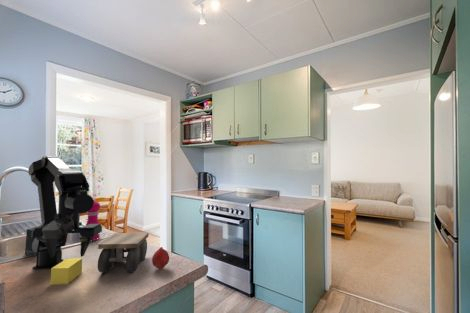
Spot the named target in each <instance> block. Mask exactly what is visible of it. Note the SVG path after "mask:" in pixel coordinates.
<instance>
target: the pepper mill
mask: <svg viewBox="0 0 470 313" xmlns="http://www.w3.org/2000/svg"><path fill="white" fill-rule="evenodd" d="M93 201H94V204H93V207H92V208H91V209H90V210H89V211H88V212H86V215H87V222H86V224H85V226H86V225H89V224H100V222H99V218H98V216H99V213H100V211H99V210H100V209H101V204H100V202H97V201H96V199H95V198H93ZM100 236H101V235H100V233H98V234H97V235H95V236H94V237H93V239H92V240H93V241H95V240H94V239H97V238H99V237H100ZM99 239H100V238H99ZM97 240H98V239H97Z"/></svg>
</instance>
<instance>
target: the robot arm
mask: <svg viewBox="0 0 470 313" xmlns="http://www.w3.org/2000/svg"><path fill="white" fill-rule="evenodd" d="M28 175H29V176H30V180H31V182H32V183H33V184H34V185H35V186H37V191H38V192H37V194H38V202H39V210H40V211H39V212H40V218H41V224H40V225H38V226H39V227H38V226H36V227H37V228H35V229H34V230H33V231H32V238H35V239H34V241H33V243H32V250H33V251H34V252H36V253H37V256H35V258H36V264H35V265H34V266H32V270H43V269H45V270H46V269H49V270H50V269H51V268H53V267H54V266H56V265H58V264H59V263H61V262H62V261H64V259H63V258H62V257H63V250H62V247H65V246H66V244H67V240H68V236H69V235H68V234H79V236H80V237H79V238H78V240H79V241H80V258H82V257H85V254H86V252H87V249H88V248H89V246H90V244H91V242H92V241H91V240H92V239H93V237H94V236H95V235H97V234H100V233H102V232H103V225H101V223H99V224H89V225H86V224H85V225H84V226H82V225H83V223H82V221H80V217H81V216H80V215H81V214H85V213H87V212H88V211H89V210H90V209H91V208H92V207H93V204H94V201H93V199H94V198H93V197H92V196H91V195H89V194H88V192H89V191H90V184H89V182H88V180H87V178H86V175H85V174H84V172H83V171H81V170H79V169H75V168H71V167H69V166H68V165H67V164H66V163H65V162H64V161H63V160H62V158H61V157H60V156H56V155H45V156H42V157H41V158H40V159H38V160H36V161H33V162H32V163H31V164H30V165H29V167H28ZM54 185H55V187H56V189H57V195H58V209H57V203H56V196H55V187H54Z"/></svg>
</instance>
